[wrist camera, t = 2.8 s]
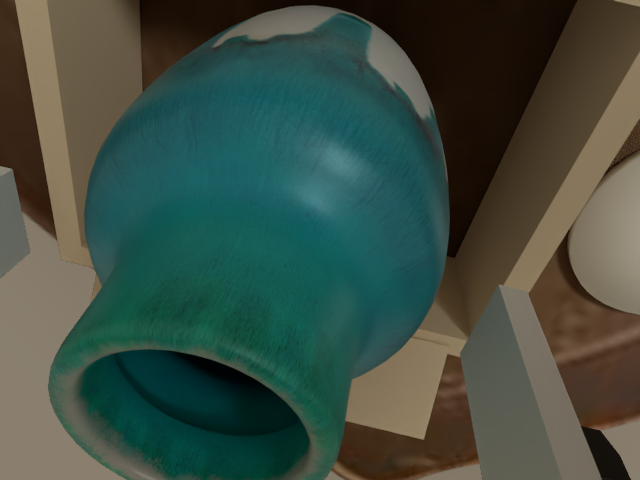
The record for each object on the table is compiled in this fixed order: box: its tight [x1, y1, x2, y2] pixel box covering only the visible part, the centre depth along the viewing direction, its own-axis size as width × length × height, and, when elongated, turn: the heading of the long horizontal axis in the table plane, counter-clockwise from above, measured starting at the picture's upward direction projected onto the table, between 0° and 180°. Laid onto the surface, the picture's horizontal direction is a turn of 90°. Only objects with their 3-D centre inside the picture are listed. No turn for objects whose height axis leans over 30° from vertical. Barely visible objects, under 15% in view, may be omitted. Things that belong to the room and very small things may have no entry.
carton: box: [15, 0, 640, 440], centre depth 20 cm, size 25×22×10 cm
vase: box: [48, 5, 450, 480], centre depth 16 cm, size 11×11×19 cm
